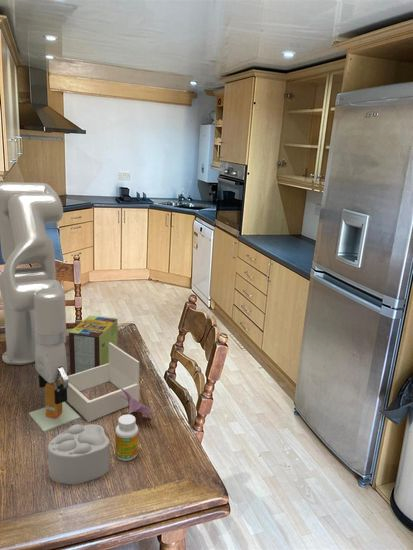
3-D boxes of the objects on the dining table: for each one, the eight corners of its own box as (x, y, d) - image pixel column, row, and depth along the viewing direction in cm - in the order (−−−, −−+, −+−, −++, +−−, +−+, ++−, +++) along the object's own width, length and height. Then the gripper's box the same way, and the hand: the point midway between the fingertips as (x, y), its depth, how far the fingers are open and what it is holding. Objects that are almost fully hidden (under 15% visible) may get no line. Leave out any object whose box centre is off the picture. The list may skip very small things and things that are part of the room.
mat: (28, 414, 118) (28, 412, 117) (63, 401, 124) (63, 400, 124) (44, 432, 111) (43, 430, 110) (80, 418, 117) (80, 416, 117)
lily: (155, 437, 113) (166, 400, 115) (113, 429, 108) (125, 391, 110) (140, 425, 124) (150, 392, 125) (101, 417, 119) (112, 382, 120)
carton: (61, 396, 127) (60, 356, 123) (110, 379, 138) (110, 342, 134) (88, 422, 115) (87, 379, 112) (139, 402, 126) (139, 362, 123)
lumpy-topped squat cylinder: (112, 473, 98) (112, 441, 96) (53, 491, 92) (51, 457, 90) (100, 446, 107) (100, 415, 105) (45, 460, 101) (44, 429, 98)
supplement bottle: (119, 464, 101) (119, 428, 99) (112, 449, 106) (112, 415, 103) (140, 457, 104) (141, 422, 101) (133, 444, 108) (134, 410, 106)
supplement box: (56, 419, 115) (55, 386, 113) (45, 416, 116) (44, 383, 113) (63, 412, 118) (62, 380, 116) (52, 410, 119) (51, 377, 117)
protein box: (118, 359, 151) (118, 318, 147) (100, 381, 136) (99, 336, 132) (89, 355, 153) (89, 314, 148) (69, 376, 138) (67, 331, 134)
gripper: (23, 327, 115) (26, 384, 119) (51, 352, 103) (53, 414, 108) (50, 321, 120) (52, 376, 124) (80, 344, 108) (81, 404, 113)
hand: (53, 393), depth 116 cm, fingers open, 9 cm apart
